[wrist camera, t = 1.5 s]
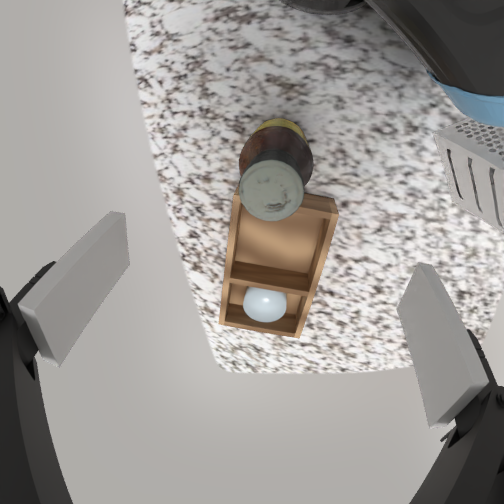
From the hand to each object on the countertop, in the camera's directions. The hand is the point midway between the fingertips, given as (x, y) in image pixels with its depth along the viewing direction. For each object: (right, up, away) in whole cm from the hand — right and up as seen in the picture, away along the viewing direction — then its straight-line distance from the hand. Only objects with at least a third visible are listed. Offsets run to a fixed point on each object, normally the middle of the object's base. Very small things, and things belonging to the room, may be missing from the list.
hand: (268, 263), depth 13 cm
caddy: (+2, 0, +31) cm, 31 cm away
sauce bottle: (+3, +14, +23) cm, 27 cm away
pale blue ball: (+1, -5, +33) cm, 33 cm away
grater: (+29, +13, +20) cm, 37 cm away
